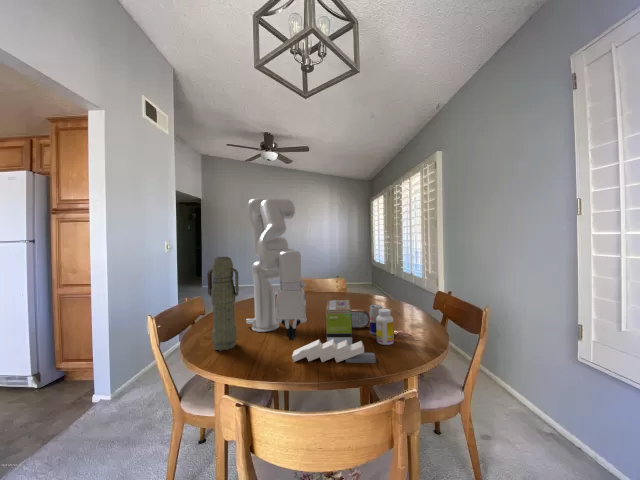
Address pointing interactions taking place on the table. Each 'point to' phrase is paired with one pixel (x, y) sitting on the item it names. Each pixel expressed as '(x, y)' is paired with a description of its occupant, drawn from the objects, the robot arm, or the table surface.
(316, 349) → the domino
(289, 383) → the table surface
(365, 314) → the tin
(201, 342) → the table surface
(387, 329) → the supplement bottle
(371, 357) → the domino
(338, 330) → the tea box
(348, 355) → the domino
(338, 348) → the domino
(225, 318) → the thermos
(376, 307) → the energy drink
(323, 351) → the domino
